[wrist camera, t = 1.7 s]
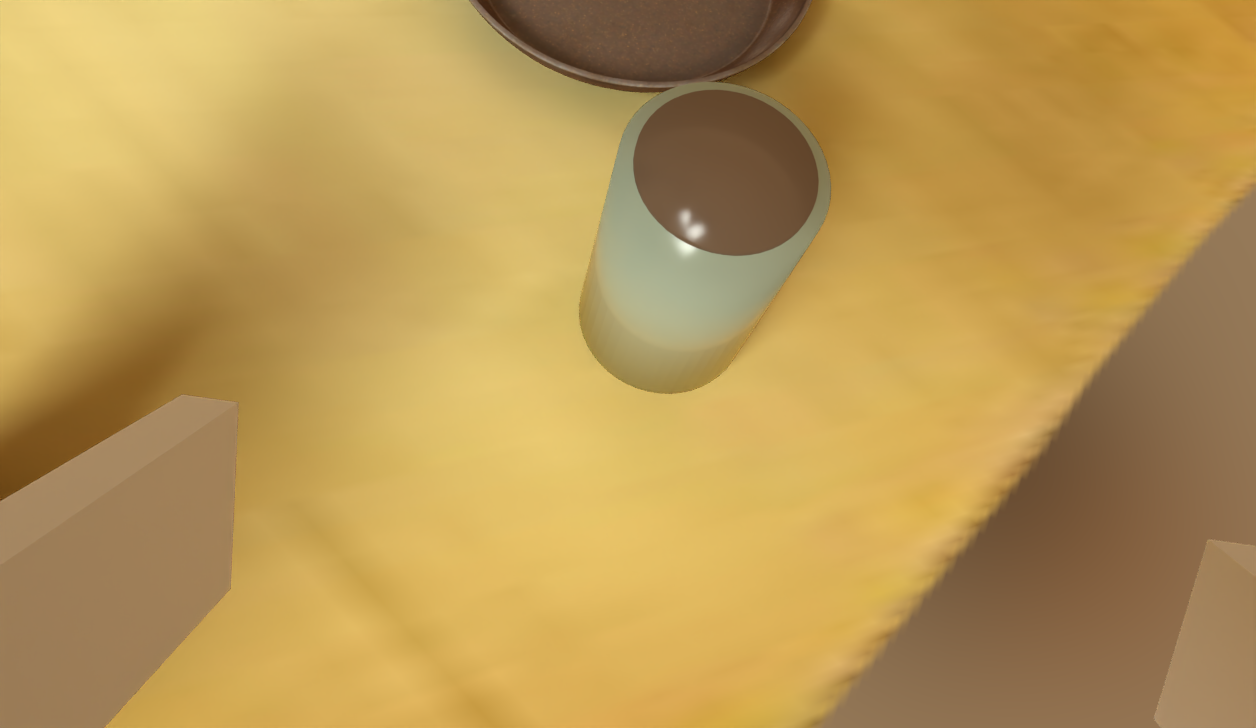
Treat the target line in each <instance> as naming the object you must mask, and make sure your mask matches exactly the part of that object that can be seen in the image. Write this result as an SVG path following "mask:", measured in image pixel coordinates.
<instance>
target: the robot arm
mask: <svg viewBox="0 0 1256 728" xmlns="http://www.w3.org/2000/svg"><path fill="white" fill-rule="evenodd" d="M238 404H239V402H233V401H225V400H218V399H211V398H204V397H197V396H190V395H183V394H182V395H180V396H178V397H177V398H175V399H173V400H172V401H170V402H168V403H167V404H165V405H163V406H161V407H160V408H158V409H156V410H155V411H153V412H151V413H150V414H148V415H146V416H144V417H143V418H141V419H139V420H138V421H136V422H134V423H132V424H131V425H129V426H127V427H126V428H124V429H122V430H121V431H119V432H117V433H115V434H114V435H112V436H110V437H109V438H107V439H105V440H104V441H102V442H100V443H98V444H97V445H95V446H93V447H92V448H90V449H88V450H87V451H85V452H83V453H81V454H80V455H78V456H76V457H75V458H73V459H71V460H69V461H68V462H66V463H64V464H63V465H61V466H59V467H58V468H56V469H54V470H52V471H51V472H49V473H47V474H46V475H44V476H42V477H41V478H39V479H37V480H35V481H34V482H32V483H30V484H29V485H27V486H25V487H24V488H22V489H20V490H18V491H17V492H15V493H13V494H12V495H10V496H8V497H7V498H5V499H3V500H1V501H0V728H104V727H105V726H106V725H107V724H108V723H109V722H110V721H111V720H112V718H113V717H114V716H115V715H116V714H117V713H118V712H119V711H120V710H121V709H122V707H123V706H124V705H125V704H126V703H127V702H128V701H129V700H130V699H131V698H132V696H133V695H134V694H135V693H136V692H137V691H138V690H139V689H140V688H141V687H142V685H143V684H144V683H145V682H146V681H147V680H148V679H149V678H150V677H151V676H152V674H153V673H154V672H155V671H156V670H157V669H158V668H159V667H160V666H161V665H162V663H163V662H164V661H165V660H166V659H167V658H168V657H169V656H170V655H171V654H172V652H173V651H174V650H175V649H176V648H177V647H178V646H179V645H180V644H181V643H182V641H183V640H184V639H185V638H186V637H187V636H188V635H189V634H190V633H191V632H192V630H193V629H194V628H195V627H196V626H197V625H198V624H199V623H200V622H201V621H202V619H203V618H204V617H205V616H206V615H207V614H208V613H209V612H210V611H211V610H212V608H213V607H214V606H215V605H216V604H217V603H218V602H219V601H220V600H221V599H222V597H223V596H224V595H225V594H226V593H227V592H228V591H229V590H230V589H231V569H232V545H233V522H234V498H235V475H236V451H237V428H238ZM1154 720H1155V721H1156V722H1157V723H1158V725H1159V726H1160V727H1161V728H1256V546H1254V545H1246V544H1239V543H1232V542H1225V541H1218V540H1211V539H1208V541H1207V544H1206V547H1205V551H1204V554H1203V557H1202V560H1201V564H1200V567H1199V570H1198V574H1197V577H1196V580H1195V584H1194V587H1193V590H1192V594H1191V597H1190V600H1189V604H1188V607H1187V610H1186V613H1185V617H1184V620H1183V624H1182V627H1181V630H1180V633H1179V637H1178V640H1177V643H1176V647H1175V650H1174V654H1173V657H1172V660H1171V663H1170V667H1169V670H1168V673H1167V677H1166V680H1165V683H1164V687H1163V690H1162V693H1161V697H1160V700H1159V703H1158V707H1157V710H1156V713H1155V717H1154Z"/></svg>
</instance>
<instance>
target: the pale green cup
mask: <svg viewBox="0 0 1256 728" xmlns="http://www.w3.org/2000/svg"><path fill="white" fill-rule="evenodd" d="M830 197H831V181H830V173H829V169H828V165H827V162H826V159H825V156H824V154H823V151H822V149H821V148H820V146H819V144H818V142H817V140H816V139H815V137H814V136H813V134H812V133H811V132H810V130H809V129H808V128H807V127H806V125H805V124H804V123H803V122H802V121H801V120H800V119H799V118H798V117H797V116H796V115H795V114H794V113H792V112H791V111H790V110H789V109H787V108H786V107H785V106H783V105H782V104H780V103H779V102H777V101H776V100H774V99H772V98H770V97H769V96H767V95H764V94H762V93H760V92H758V91H755V90H753V89H749V88H746V87H743V86H739V85H734V84H729V83H721V82H698V83H691V84H686V85H682V86H678V87H675V88H672V89H670V90H667V91H665V92H663V93H661V94H659V95H657V96H656V97H654V98H652V99H651V100H650V101H648V102H647V103H646V104H644V105H643V106H642V107H641V108H640V109H639V110H638V111H637V112H636V113H635V115H634V116H633V118H632V119H631V120H630V122H629V123H628V125H627V127H626V129H625V131H624V133H623V136H622V139H621V142H620V145H619V149H618V153H617V157H616V160H615V164H614V168H613V172H612V176H611V180H610V184H609V188H608V192H607V195H606V199H605V203H604V207H603V211H602V215H601V219H600V223H599V227H598V230H597V234H596V238H595V242H594V246H593V250H592V254H591V258H590V262H589V265H588V269H587V273H586V277H585V281H584V285H583V289H582V293H581V297H580V304H579V319H580V326H581V330H582V333H583V336H584V339H585V341H586V343H587V346H588V347H589V349H590V351H591V352H592V354H593V355H594V357H595V358H596V359H597V360H598V362H599V363H600V364H601V365H602V366H603V367H604V368H605V369H606V370H607V371H608V372H610V373H611V374H612V375H613V376H615V377H616V378H618V379H619V380H621V381H623V382H624V383H626V384H628V385H631V386H633V387H635V388H638V389H641V390H645V391H648V392H654V393H665V394H672V393H682V392H687V391H691V390H694V389H697V388H700V387H702V386H704V385H706V384H708V383H710V382H711V381H713V380H714V379H715V378H717V377H718V376H719V375H720V374H721V373H722V372H724V371H725V370H726V368H727V367H728V366H729V365H730V363H731V362H732V361H733V359H734V358H735V356H736V355H737V353H738V352H739V350H740V349H741V347H742V346H743V344H744V343H745V341H746V340H747V338H748V337H749V335H750V334H751V332H752V330H753V329H754V327H755V326H756V324H757V323H758V321H759V320H760V318H761V317H762V315H763V314H764V312H765V311H766V309H767V308H768V306H769V305H770V303H771V302H772V300H773V299H774V297H775V296H776V294H777V293H778V291H779V290H780V288H781V287H782V285H783V284H784V282H785V281H786V279H787V278H788V276H789V275H790V273H791V272H792V270H793V269H794V267H795V266H796V264H797V263H798V261H799V260H800V258H801V257H802V255H803V254H804V252H805V251H806V249H807V248H808V246H809V245H810V243H811V242H812V240H813V239H814V237H815V236H816V234H817V233H818V231H819V229H820V228H821V226H822V224H823V222H824V220H825V217H826V215H827V212H828V208H829V203H830Z"/></svg>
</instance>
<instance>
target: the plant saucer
mask: <svg viewBox="0 0 1256 728" xmlns="http://www.w3.org/2000/svg"><path fill="white" fill-rule="evenodd" d="M469 1H470V2H471V3H472V5H473V6H474V7H475V8H476V10H477V11H478V12H479V13H480V14H481V15H482V17H483V18H484V19H485V20H486V21H487V22H488V23H489V24H490V25H491V26H492V27H493V28H494V29H495V30H496V31H497V32H498V33H499V34H500V35H501V36H502V37H504V38H505V39H506V40H507V41H508V42H509V43H511V44H512V45H513V46H515V47H516V48H517V49H519V50H520V51H522V52H523V53H524V54H526V55H527V56H529V57H530V58H532V59H533V60H535V61H537V62H539V63H540V64H542V65H544V66H546V67H548V68H550V69H552V70H554V71H556V72H558V73H561V74H563V75H565V76H568V77H570V78H573V79H576V80H579V81H582V82H585V83H588V84H592V85H595V86H600V87H604V88H610V89H616V90H622V91H630V92H665V91H667V90H670V89H672V88H675V87H678V86H682V85H686V84H691V83H698V82H717V81H720V80H723V79H725V78H728V77H730V76H733V75H735V74H737V73H740V72H742V71H744V70H746V69H748V68H749V67H751V66H753V65H755V64H757V63H758V62H760V61H762V60H763V59H765V58H766V57H768V56H769V55H770V54H772V53H773V52H774V51H775V50H777V49H778V48H779V47H780V46H781V45H782V44H783V43H784V42H785V41H786V40H787V39H788V38H789V37H790V36H791V35H792V33H793V32H794V31H795V30H796V28H797V27H798V26H799V24H800V23H801V21H802V19H803V18H804V16H805V14H806V12H807V10H808V8H809V6H810V4H811V1H812V0H469Z"/></svg>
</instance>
